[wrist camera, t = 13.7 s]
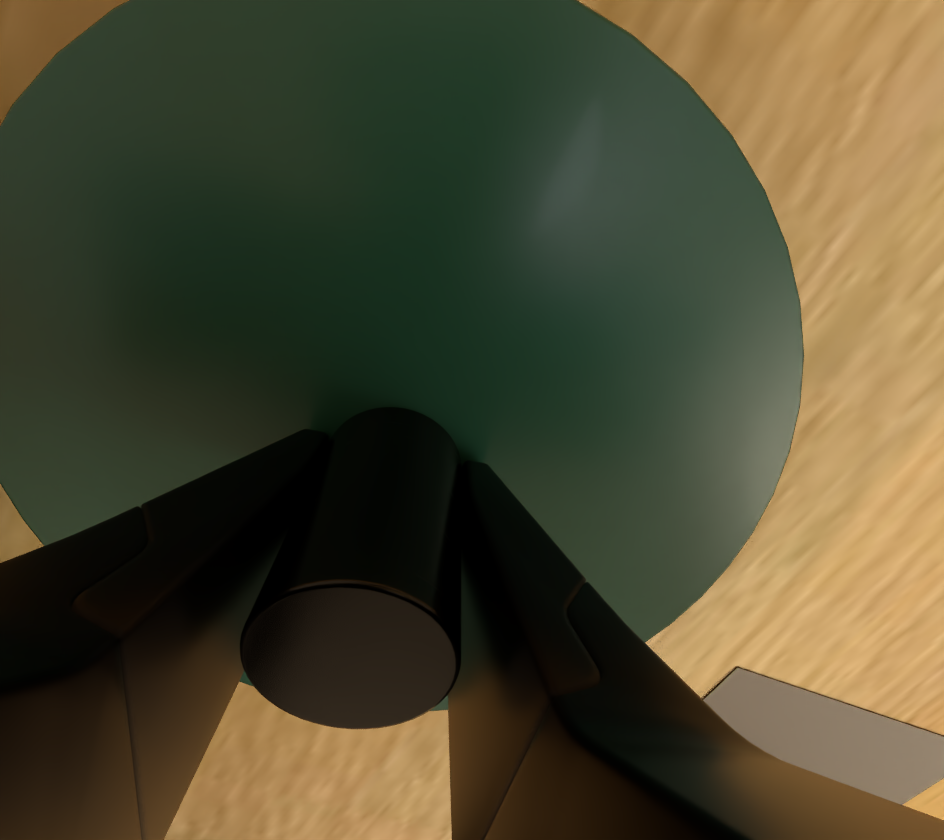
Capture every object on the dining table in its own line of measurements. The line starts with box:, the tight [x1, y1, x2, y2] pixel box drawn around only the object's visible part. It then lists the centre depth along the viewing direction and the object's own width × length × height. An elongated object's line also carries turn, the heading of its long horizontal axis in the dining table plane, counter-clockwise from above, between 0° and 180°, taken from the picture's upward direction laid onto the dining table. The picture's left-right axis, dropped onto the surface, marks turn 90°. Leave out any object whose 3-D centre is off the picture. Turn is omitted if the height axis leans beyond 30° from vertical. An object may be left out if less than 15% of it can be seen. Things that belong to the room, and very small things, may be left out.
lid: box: [0, 0, 804, 729], centre depth 8 cm, size 14×14×5 cm
